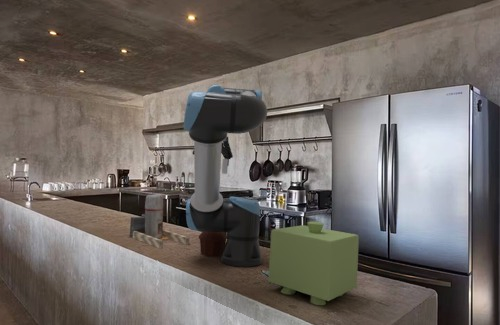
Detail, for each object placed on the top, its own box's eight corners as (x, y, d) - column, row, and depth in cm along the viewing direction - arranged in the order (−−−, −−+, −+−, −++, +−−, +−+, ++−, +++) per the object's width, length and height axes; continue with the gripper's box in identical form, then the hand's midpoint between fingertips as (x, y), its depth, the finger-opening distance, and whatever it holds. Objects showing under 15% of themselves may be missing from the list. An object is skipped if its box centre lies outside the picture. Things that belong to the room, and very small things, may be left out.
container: (356, 295, 97) (359, 224, 97) (327, 310, 85) (331, 229, 85) (299, 278, 109) (302, 216, 110) (267, 289, 97) (271, 219, 98)
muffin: (193, 251, 138) (195, 226, 138) (219, 249, 143) (220, 225, 143) (203, 258, 127) (205, 231, 128) (230, 256, 133) (232, 230, 133)
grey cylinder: (151, 240, 151) (153, 194, 152) (139, 237, 156) (142, 193, 157) (166, 237, 158) (168, 194, 158) (155, 235, 163) (157, 193, 163)
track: (189, 244, 149) (190, 223, 150) (159, 248, 139) (160, 226, 139) (157, 233, 169) (158, 215, 169) (129, 236, 158) (130, 217, 159)
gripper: (231, 128, 159) (228, 173, 159) (186, 120, 142) (182, 171, 141) (242, 127, 154) (239, 174, 153) (196, 119, 136) (193, 172, 136)
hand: (212, 173), depth 147 cm, fingers open, 13 cm apart
